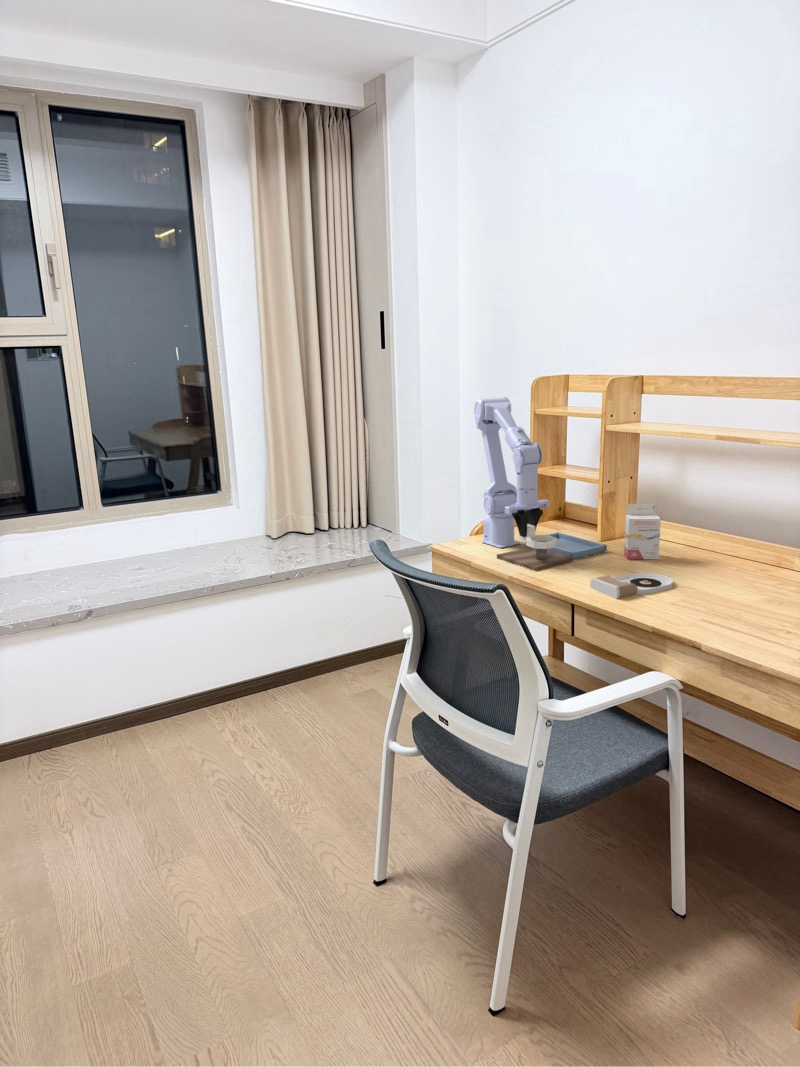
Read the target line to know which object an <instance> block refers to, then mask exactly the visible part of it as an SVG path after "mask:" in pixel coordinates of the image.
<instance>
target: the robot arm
mask: <svg viewBox="0 0 800 1067" xmlns="http://www.w3.org/2000/svg"><path fill="white" fill-rule="evenodd" d="M473 415H474V420H475V424H476V428H477V429H478V430H479V431H481V436H482V440H483V441H482V442H483V446H484V447H483V448H484V452H485V458H486V459H485V460H486V463H487V469H488V474H489V476H488V477H489V480H490V484H489V486H488V487H486V489H485V490H484V492H483V508H484V511H485V513H486V515H485V517H484V518H483V519H484V520H483V539H482V540H481V542H482V543H484V544H487V545H490V546H493V547H497V548H499V549H502V548H503V549H504V548H507V547H511V546H517V545H521V543H522V542H521V541H518V540H515V524H516V527H517V531H518V535H519V534H520V536H522V537H526V535H527V524H530V525H533V526H535V532H536V530H537V527H538V524H539V522H540V519H541V517H542V516H543V514H544V509H543V508H549V507H550V500H549V499H538V498H539V496H538V495H539V492H538V489H539V486H538V483H539V480H538V479H539V478H538V476H539V475H538V474H539V469H538V467H539V464H541V462H542V459H543V452H542V448H541V446H540V444H539V443H536V442H534V441H533V442H532V440H530V437H529V436H528V435H527V433H526V431H525V430H524V428H523V427H521V426H517V424H516V422H515V419H514V418H513V416H512V403H511V401H510V400H509V398H508V397H506V396H504V397H503V396H502V397H494V398H477V399H476V401H475V403H474V406H473ZM500 429H501V430H503V432H504V433H505V434H504V436H505V437H504V439H505V441H506V443H507V445H508V447H509V448H510V449H511V452H512V461H513V463H514V472H516V486H515V485H513V484H512V483H510V482H509V481H508V477H507V473H506V472H507V470H506V466H505V461H504V456H503V449H502V444H501V439H500V434H499V431H500ZM541 508H542V509H541Z"/></svg>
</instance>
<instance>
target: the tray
mask: <svg viewBox="0 0 800 1067" xmlns="http://www.w3.org/2000/svg"><path fill="white" fill-rule="evenodd" d="M546 535H549V536H552V537H555V538H557V545H556V547H553V548H549V549H547V550H548V551H552V552H555V553H558V554H562V555H565V556H568V557H572V558H573V561H575V560H579V559H583V558H587V557H591V556H590V555H592V556H595V555H594V554H596V555H599V554H598V553H600V554H603V553H602V552H604V553H606V552H605V551H607V550H608V547H607V546H608V545H607V544H604V543H600V542H597V541H593V540H588V539H585V538H581V537H579V536H578V537H577V536H574V535H571V534H566V533H562V532H560V531H556V532H552V533H547V534H546ZM536 542H546V541H536ZM607 552H608V551H607ZM586 556H587V557H586ZM582 557H583V558H582Z"/></svg>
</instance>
